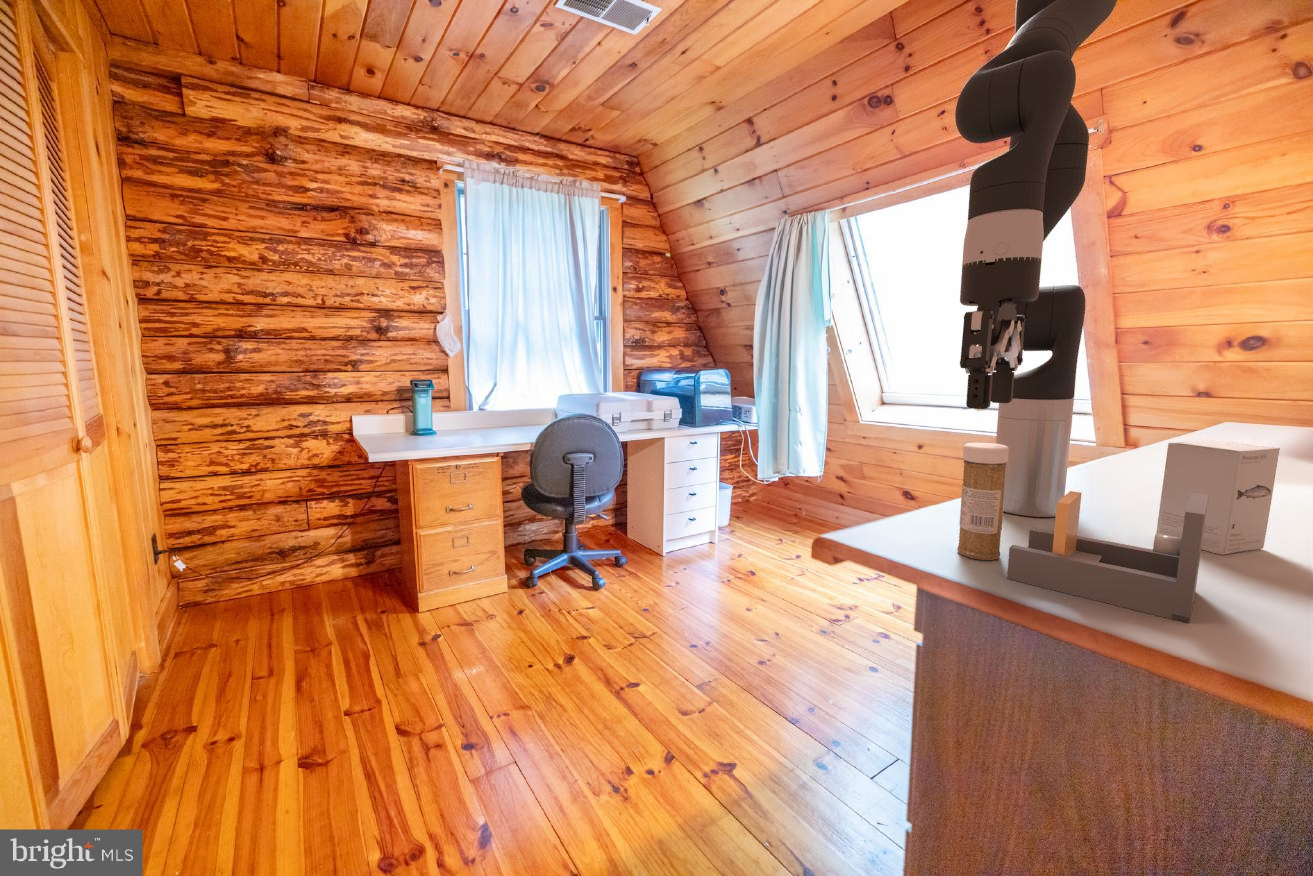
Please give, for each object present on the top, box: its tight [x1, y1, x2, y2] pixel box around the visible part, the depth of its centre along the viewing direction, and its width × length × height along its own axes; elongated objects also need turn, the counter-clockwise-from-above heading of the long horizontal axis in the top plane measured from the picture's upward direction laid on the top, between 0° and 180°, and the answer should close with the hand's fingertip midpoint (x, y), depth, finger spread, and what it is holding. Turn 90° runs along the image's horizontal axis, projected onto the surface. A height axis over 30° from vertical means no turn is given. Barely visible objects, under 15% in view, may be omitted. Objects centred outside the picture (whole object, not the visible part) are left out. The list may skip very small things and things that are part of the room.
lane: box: [1006, 493, 1209, 624], centre depth 57 cm, size 9×14×10 cm, turn 44°
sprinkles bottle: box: [956, 442, 1009, 561], centre depth 66 cm, size 5×5×14 cm
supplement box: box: [1155, 439, 1281, 556], centre depth 68 cm, size 7×7×13 cm
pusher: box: [1052, 490, 1102, 563], centre depth 58 cm, size 6×3×8 cm, turn 134°
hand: (989, 405), depth 64 cm, fingers open, 8 cm apart
